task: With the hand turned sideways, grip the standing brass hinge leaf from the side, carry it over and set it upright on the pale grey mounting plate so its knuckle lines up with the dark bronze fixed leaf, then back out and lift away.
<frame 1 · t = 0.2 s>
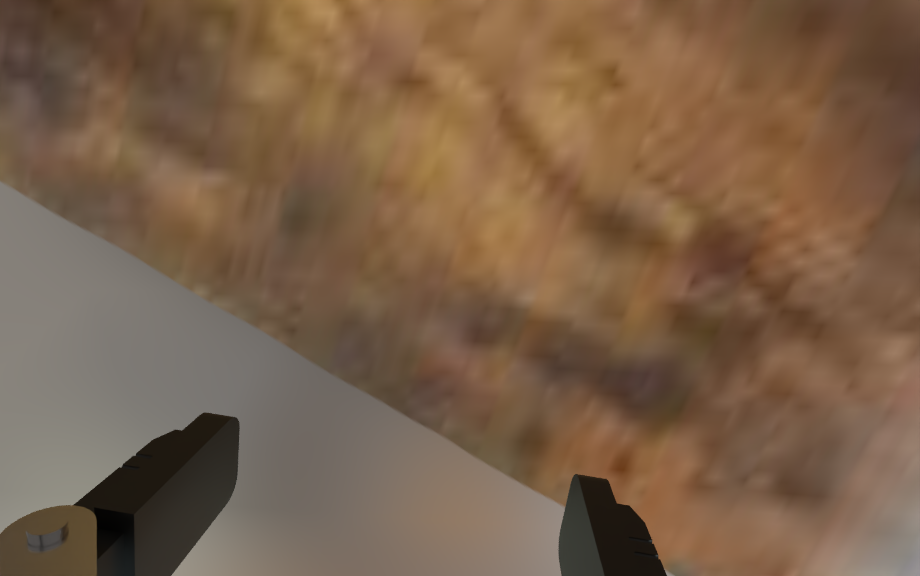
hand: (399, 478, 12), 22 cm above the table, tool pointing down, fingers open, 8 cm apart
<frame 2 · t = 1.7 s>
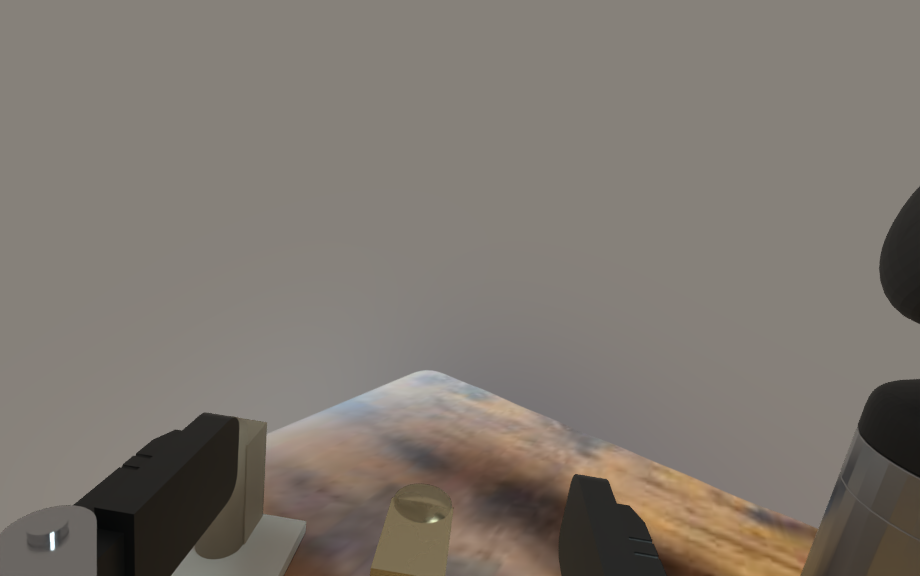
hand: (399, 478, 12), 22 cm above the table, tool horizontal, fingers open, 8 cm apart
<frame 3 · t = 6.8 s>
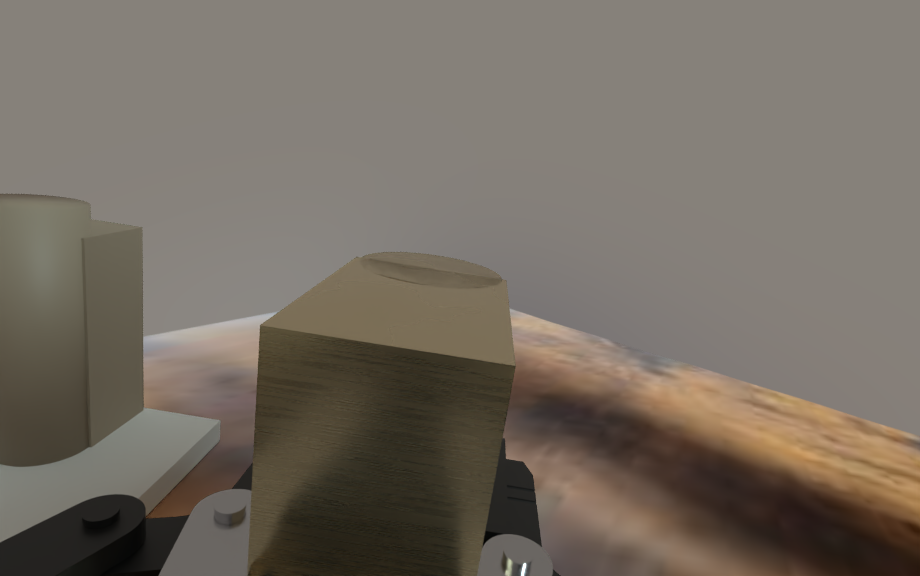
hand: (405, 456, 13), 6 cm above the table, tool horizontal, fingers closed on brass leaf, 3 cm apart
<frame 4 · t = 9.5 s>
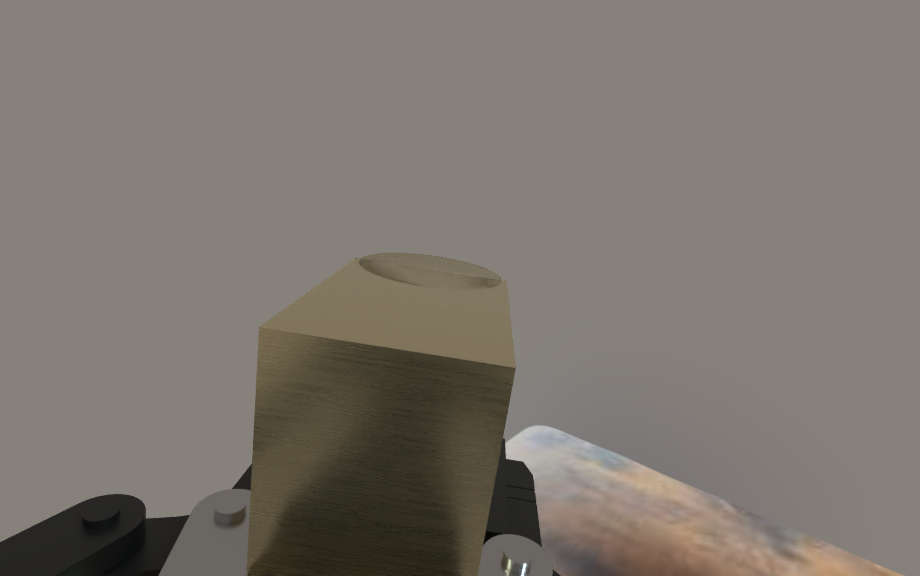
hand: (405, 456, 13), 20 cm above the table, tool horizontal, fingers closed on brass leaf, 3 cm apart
when the fingers open (8 cm above the table, at t = 12.6 s): brass leaf drops 1 cm, resting on mounting plate.
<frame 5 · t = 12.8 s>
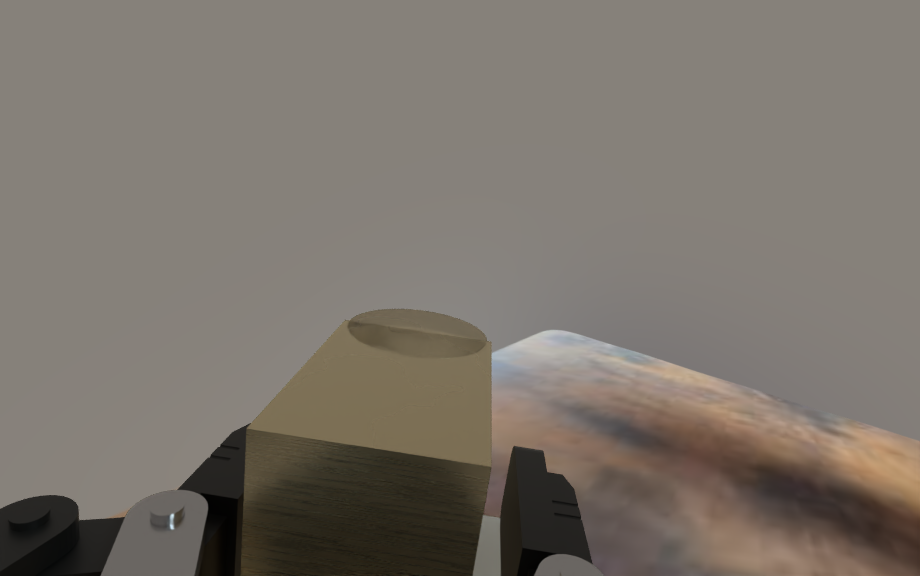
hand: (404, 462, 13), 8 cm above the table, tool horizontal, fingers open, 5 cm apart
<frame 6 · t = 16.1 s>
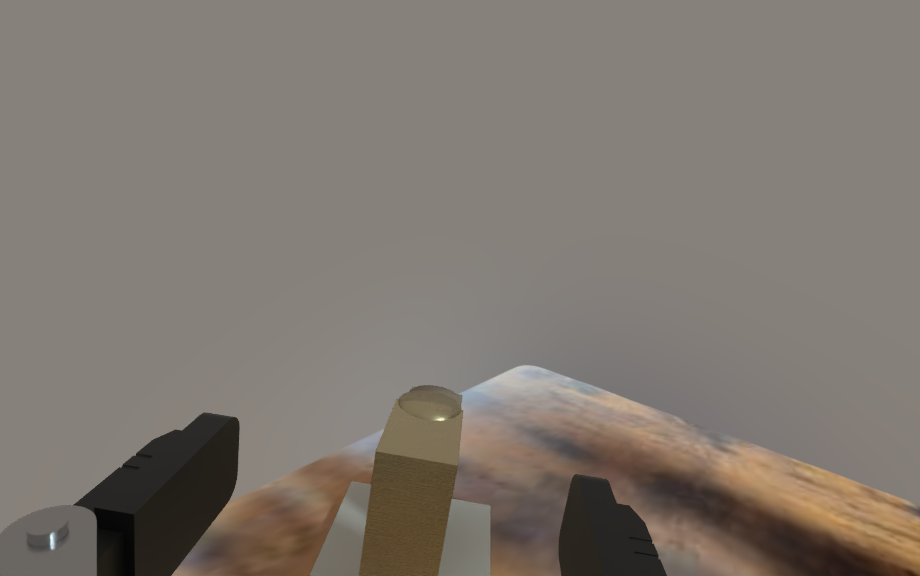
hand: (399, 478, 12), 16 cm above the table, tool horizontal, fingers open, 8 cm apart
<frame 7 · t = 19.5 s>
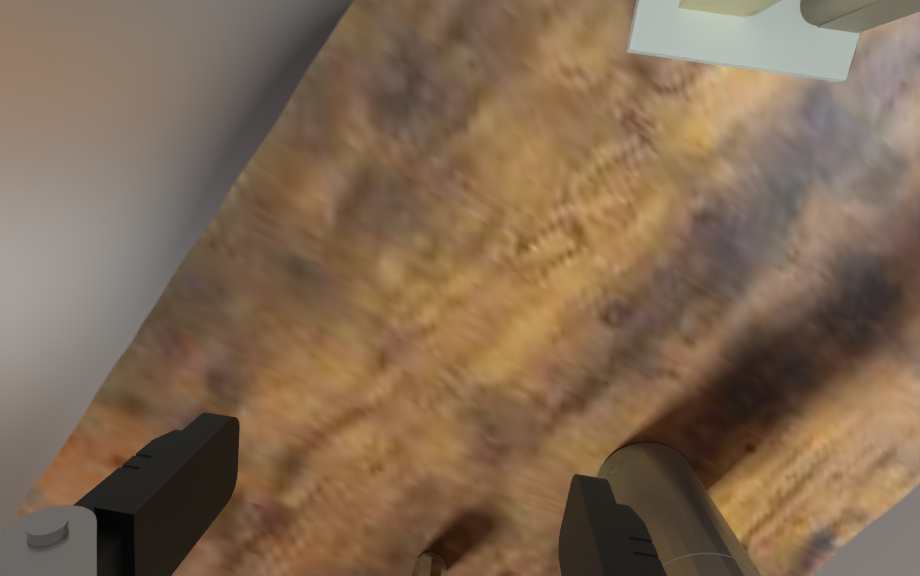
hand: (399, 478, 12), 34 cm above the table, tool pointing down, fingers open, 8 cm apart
milkshake: (428, 565, 54), on the table
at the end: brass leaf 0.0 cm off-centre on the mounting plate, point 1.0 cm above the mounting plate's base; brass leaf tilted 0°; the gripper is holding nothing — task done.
